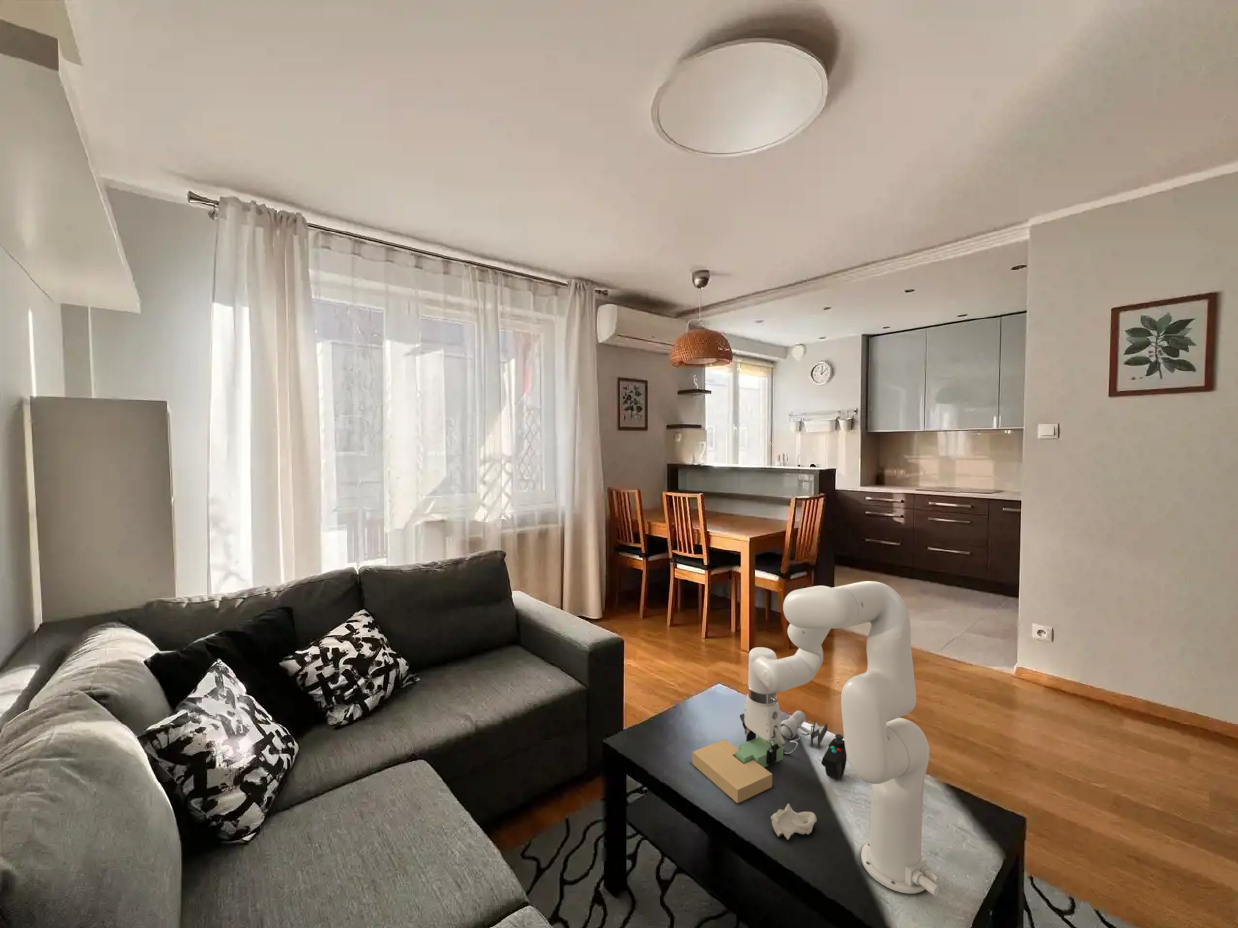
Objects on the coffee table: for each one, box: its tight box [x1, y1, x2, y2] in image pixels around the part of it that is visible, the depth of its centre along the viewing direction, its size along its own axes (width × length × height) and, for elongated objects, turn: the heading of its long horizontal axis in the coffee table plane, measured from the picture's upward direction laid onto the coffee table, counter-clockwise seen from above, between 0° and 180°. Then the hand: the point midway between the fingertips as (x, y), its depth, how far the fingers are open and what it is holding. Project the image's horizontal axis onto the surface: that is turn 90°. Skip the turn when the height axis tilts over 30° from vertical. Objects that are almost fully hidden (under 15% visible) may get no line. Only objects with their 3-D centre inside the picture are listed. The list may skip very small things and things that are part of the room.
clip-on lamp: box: [781, 710, 828, 755], centre depth 153 cm, size 12×6×18 cm
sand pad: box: [691, 738, 773, 804], centre depth 138 cm, size 18×12×4 cm, turn 30°
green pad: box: [735, 736, 784, 768], centre depth 143 cm, size 7×13×4 cm, turn 120°
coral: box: [770, 803, 818, 840], centre depth 119 cm, size 6×10×4 cm, turn 115°
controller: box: [820, 733, 848, 781], centre depth 137 cm, size 4×12×10 cm, turn 141°
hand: (761, 755), depth 144 cm, fingers closed on green pad, 7 cm apart
